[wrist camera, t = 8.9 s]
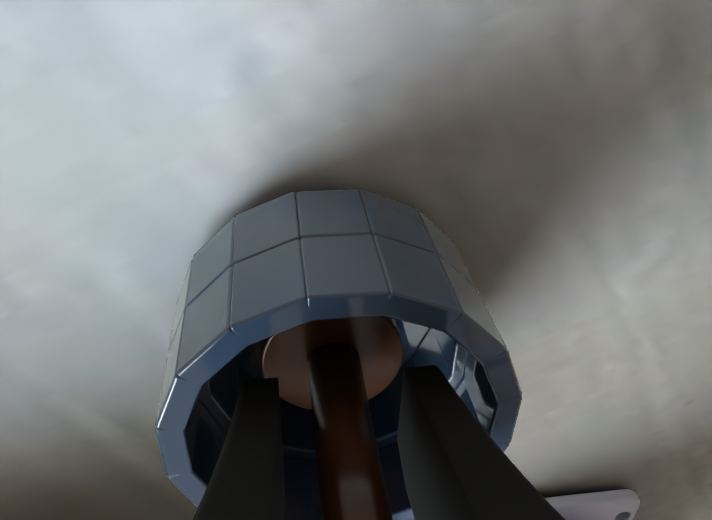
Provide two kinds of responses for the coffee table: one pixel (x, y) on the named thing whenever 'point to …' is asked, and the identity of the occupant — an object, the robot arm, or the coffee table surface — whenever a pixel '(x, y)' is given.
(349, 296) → the stir bowl
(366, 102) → the coffee table surface
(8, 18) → the coffee table surface
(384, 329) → the wooden stamp
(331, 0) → the coffee table surface
